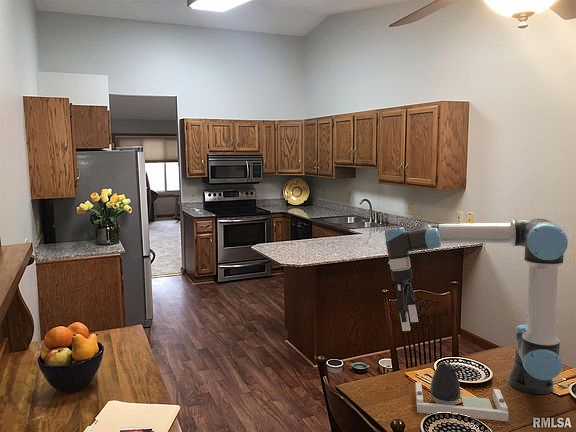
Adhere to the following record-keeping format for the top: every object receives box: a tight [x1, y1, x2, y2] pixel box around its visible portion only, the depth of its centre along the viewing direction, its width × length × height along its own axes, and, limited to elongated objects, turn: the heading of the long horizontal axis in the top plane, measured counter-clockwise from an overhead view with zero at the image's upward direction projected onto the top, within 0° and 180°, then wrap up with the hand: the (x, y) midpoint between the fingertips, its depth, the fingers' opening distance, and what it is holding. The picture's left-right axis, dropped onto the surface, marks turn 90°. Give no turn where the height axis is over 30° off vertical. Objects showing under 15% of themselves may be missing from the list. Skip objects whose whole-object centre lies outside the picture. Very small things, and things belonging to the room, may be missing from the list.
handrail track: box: [415, 381, 510, 422], centre depth 162 cm, size 29×14×5 cm, turn 77°
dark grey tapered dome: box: [429, 361, 462, 406], centre depth 163 cm, size 10×10×15 cm
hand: (410, 326), depth 170 cm, fingers open, 13 cm apart
